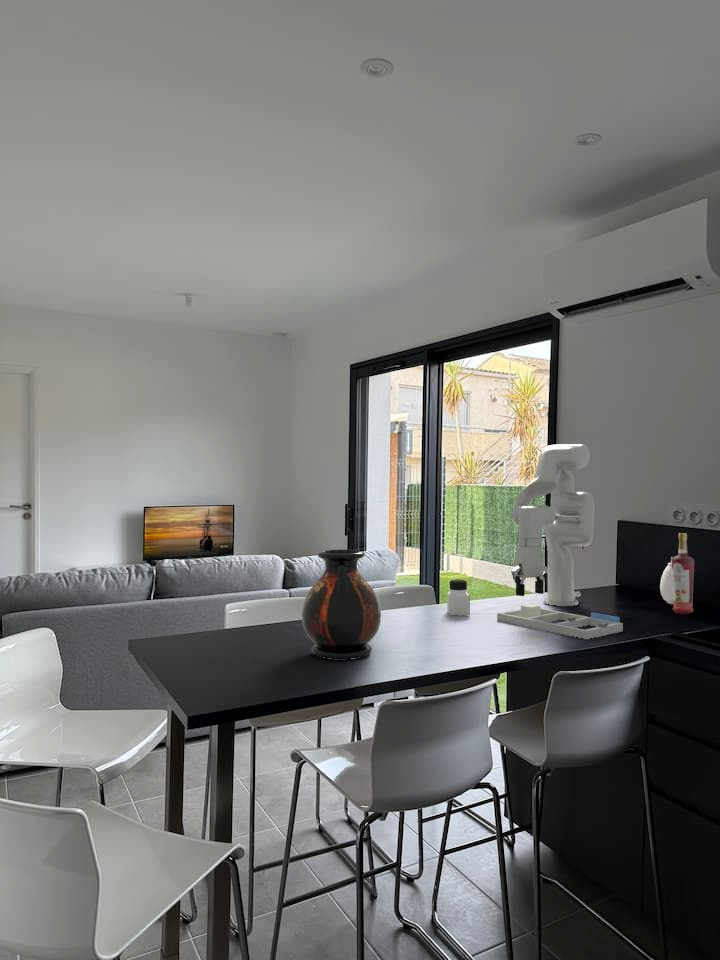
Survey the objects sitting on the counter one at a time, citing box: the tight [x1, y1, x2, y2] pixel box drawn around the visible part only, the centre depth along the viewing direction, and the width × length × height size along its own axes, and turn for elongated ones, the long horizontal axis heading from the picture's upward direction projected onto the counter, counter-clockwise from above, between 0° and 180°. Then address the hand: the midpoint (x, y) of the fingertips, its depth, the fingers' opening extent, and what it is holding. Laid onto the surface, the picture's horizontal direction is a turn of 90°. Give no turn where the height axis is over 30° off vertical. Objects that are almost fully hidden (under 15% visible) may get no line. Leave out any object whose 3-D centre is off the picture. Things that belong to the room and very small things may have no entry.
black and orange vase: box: [301, 549, 382, 659], centre depth 192 cm, size 22×22×28 cm
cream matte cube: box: [520, 603, 541, 618], centre depth 236 cm, size 4×4×5 cm
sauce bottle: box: [659, 555, 674, 605], centre depth 264 cm, size 8×8×18 cm
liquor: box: [670, 532, 695, 616], centre depth 246 cm, size 7×7×28 cm
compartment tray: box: [496, 607, 624, 640], centre depth 227 cm, size 19×35×4 cm, turn 37°
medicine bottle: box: [446, 578, 471, 616], centre depth 247 cm, size 7×7×12 cm
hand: (529, 594), depth 235 cm, fingers open, 9 cm apart
